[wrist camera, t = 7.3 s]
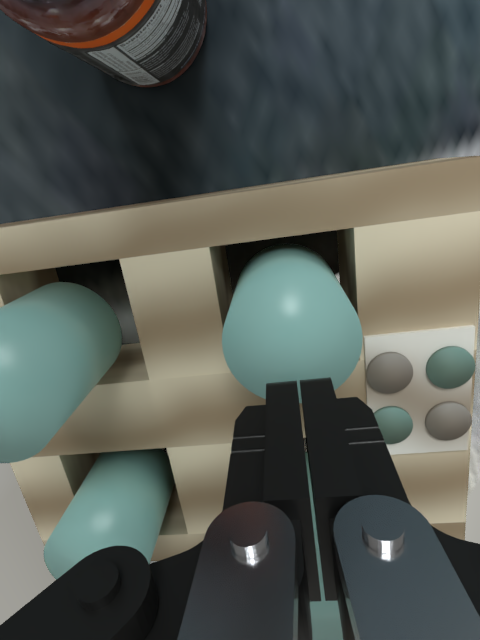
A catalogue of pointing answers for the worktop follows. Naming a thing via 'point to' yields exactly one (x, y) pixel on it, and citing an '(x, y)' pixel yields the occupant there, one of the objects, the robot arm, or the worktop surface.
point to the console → (211, 311)
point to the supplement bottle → (120, 34)
